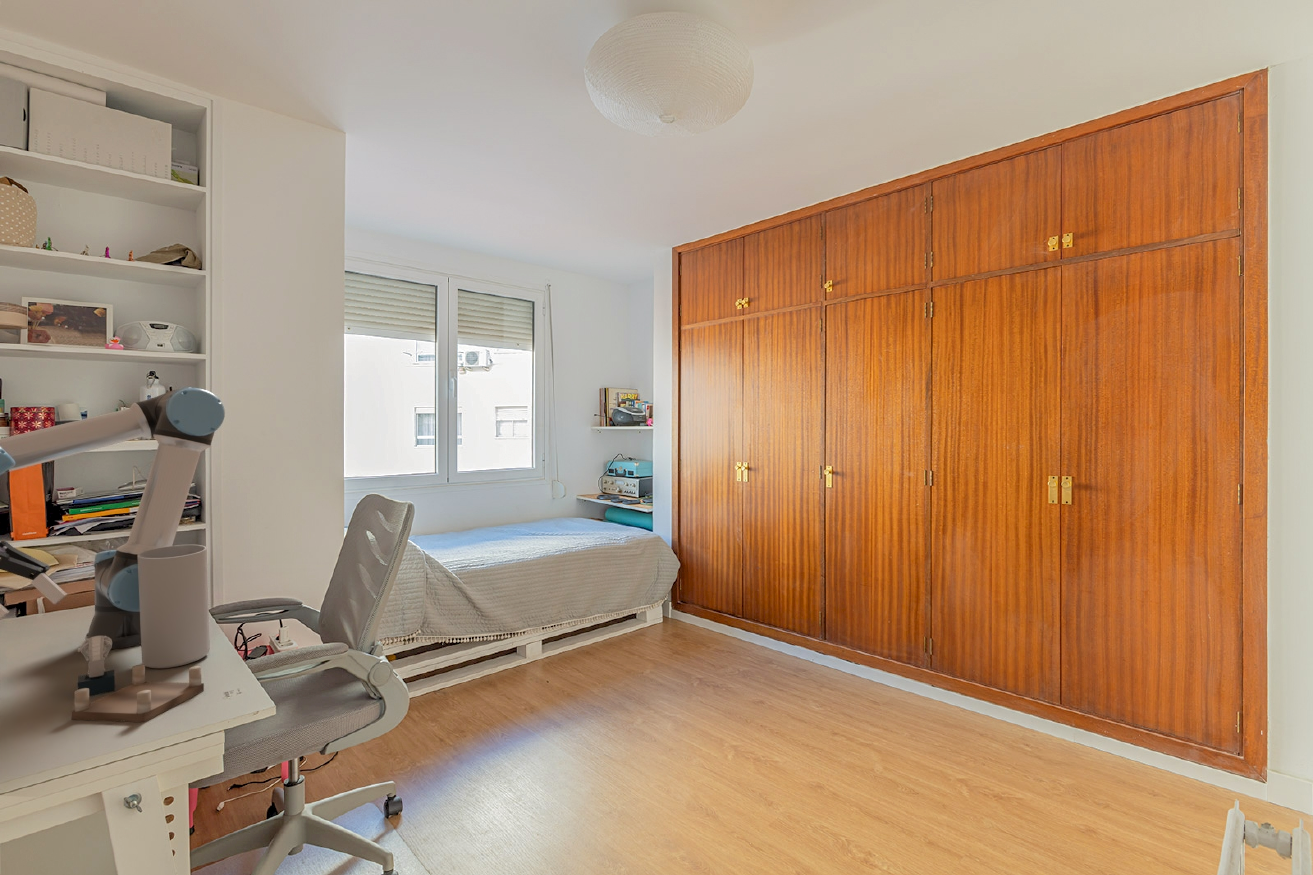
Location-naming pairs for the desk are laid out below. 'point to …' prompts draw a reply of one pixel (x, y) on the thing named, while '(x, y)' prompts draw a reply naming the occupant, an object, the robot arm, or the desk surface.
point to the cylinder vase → (173, 605)
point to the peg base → (129, 702)
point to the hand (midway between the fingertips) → (33, 608)
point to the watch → (97, 666)
